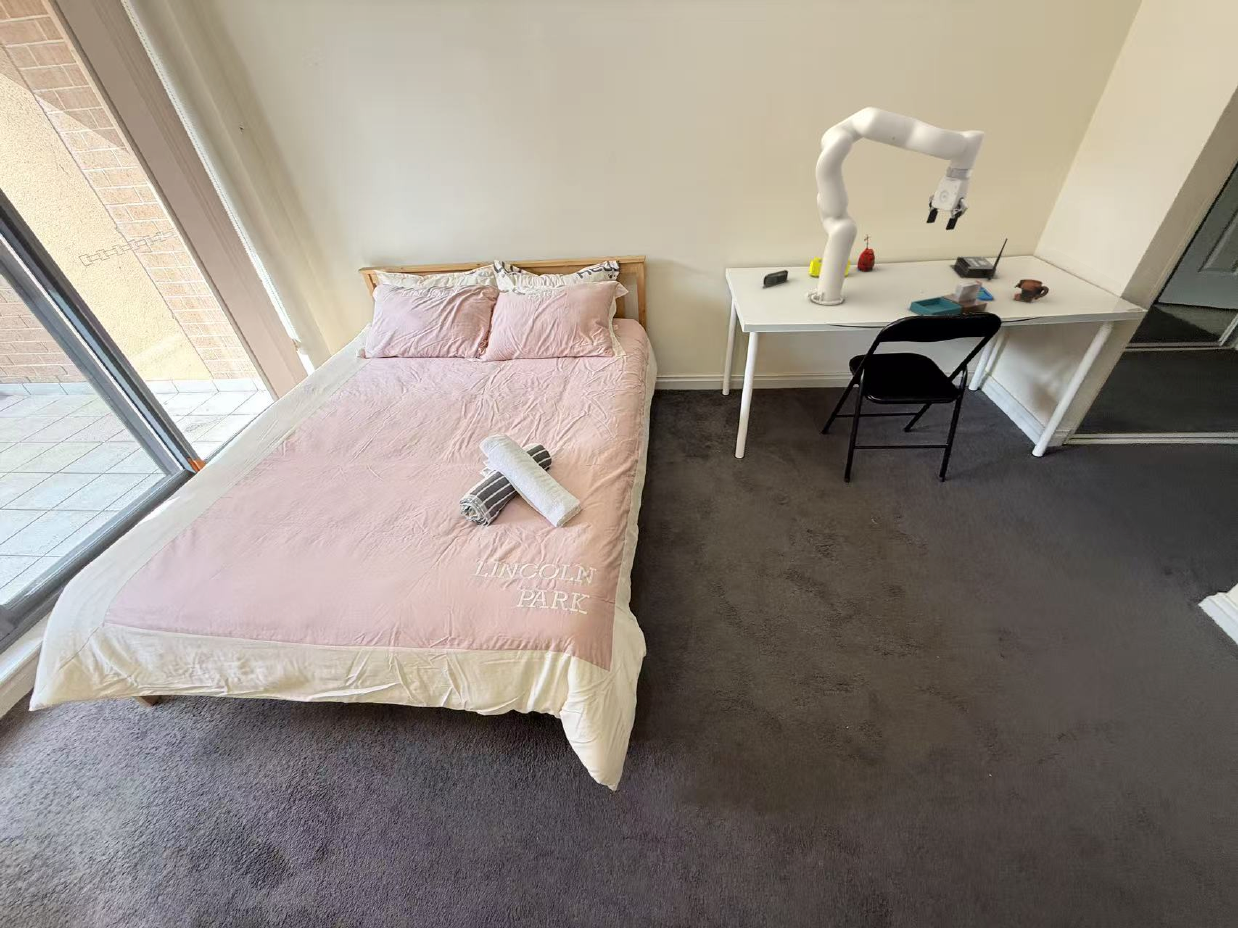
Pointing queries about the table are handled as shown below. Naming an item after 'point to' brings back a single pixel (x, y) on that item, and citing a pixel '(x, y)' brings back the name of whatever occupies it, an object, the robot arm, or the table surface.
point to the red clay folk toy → (866, 259)
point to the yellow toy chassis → (816, 267)
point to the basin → (935, 307)
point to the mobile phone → (775, 278)
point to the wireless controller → (976, 266)
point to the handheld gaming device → (984, 294)
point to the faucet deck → (968, 304)
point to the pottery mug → (1030, 290)
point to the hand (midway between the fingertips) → (939, 226)
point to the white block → (967, 291)
